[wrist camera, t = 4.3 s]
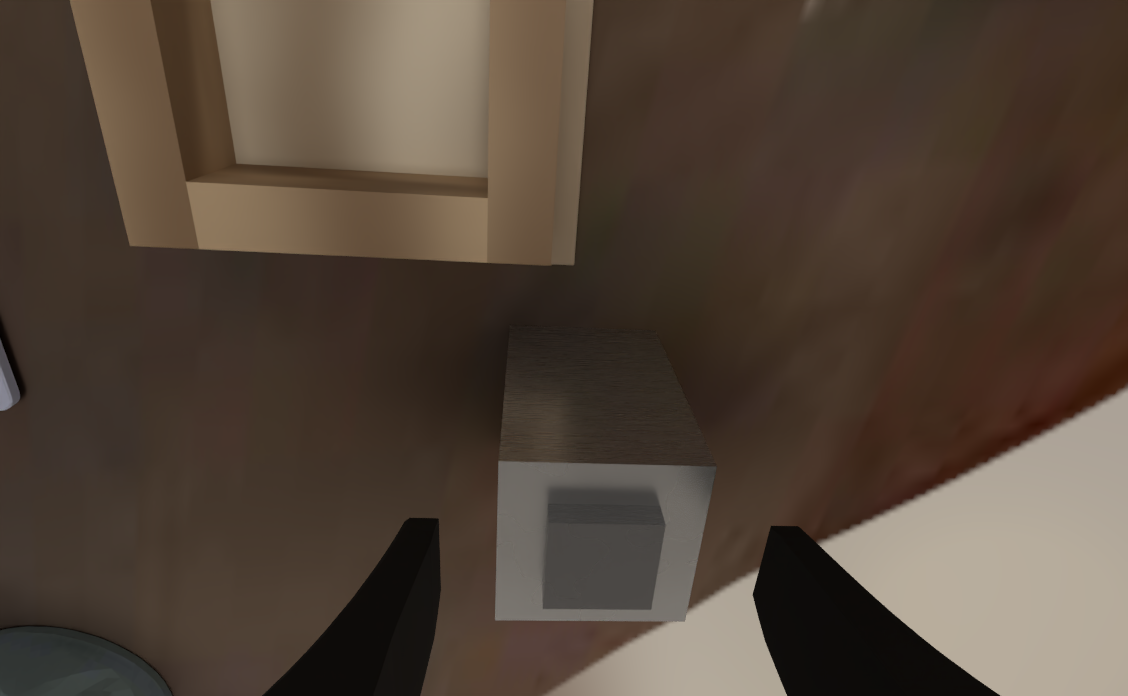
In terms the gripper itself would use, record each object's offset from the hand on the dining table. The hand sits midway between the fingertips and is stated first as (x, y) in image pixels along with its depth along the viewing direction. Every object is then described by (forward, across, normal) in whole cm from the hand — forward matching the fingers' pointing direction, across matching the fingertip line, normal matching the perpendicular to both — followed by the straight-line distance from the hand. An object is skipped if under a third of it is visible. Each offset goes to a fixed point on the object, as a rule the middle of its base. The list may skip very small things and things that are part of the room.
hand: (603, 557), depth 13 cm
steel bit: (+7, 0, 0) cm, 7 cm away
